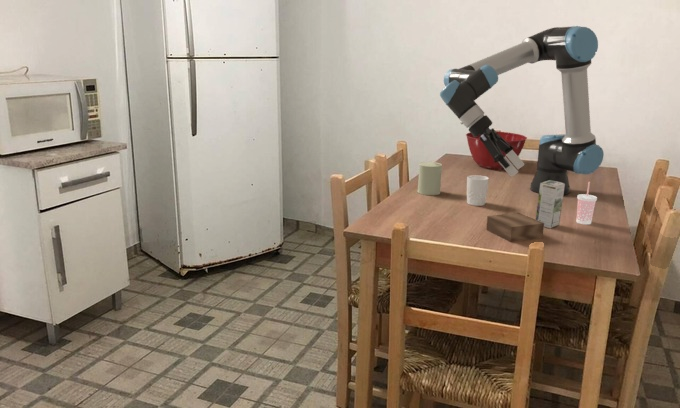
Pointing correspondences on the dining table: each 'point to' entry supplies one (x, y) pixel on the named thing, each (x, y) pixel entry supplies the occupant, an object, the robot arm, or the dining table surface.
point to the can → (429, 178)
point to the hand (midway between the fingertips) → (518, 170)
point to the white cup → (477, 189)
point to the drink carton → (550, 203)
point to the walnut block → (515, 227)
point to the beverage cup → (585, 207)
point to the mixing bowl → (483, 155)
